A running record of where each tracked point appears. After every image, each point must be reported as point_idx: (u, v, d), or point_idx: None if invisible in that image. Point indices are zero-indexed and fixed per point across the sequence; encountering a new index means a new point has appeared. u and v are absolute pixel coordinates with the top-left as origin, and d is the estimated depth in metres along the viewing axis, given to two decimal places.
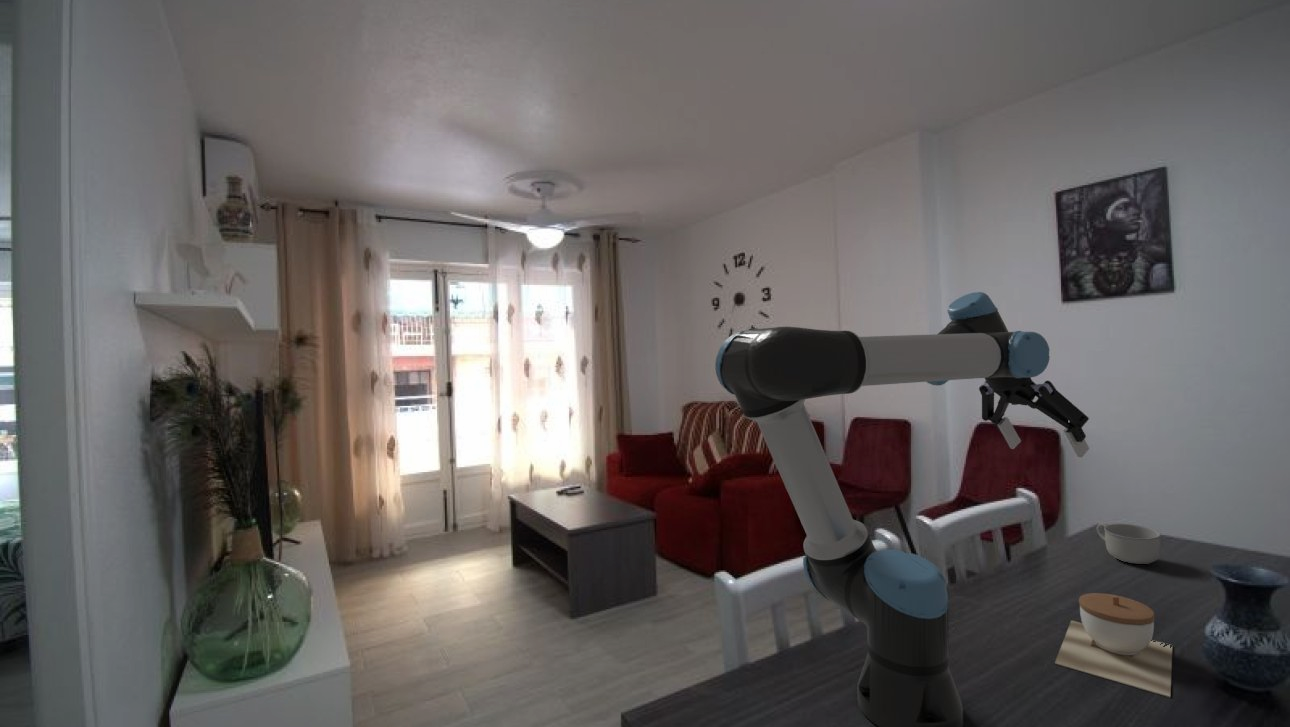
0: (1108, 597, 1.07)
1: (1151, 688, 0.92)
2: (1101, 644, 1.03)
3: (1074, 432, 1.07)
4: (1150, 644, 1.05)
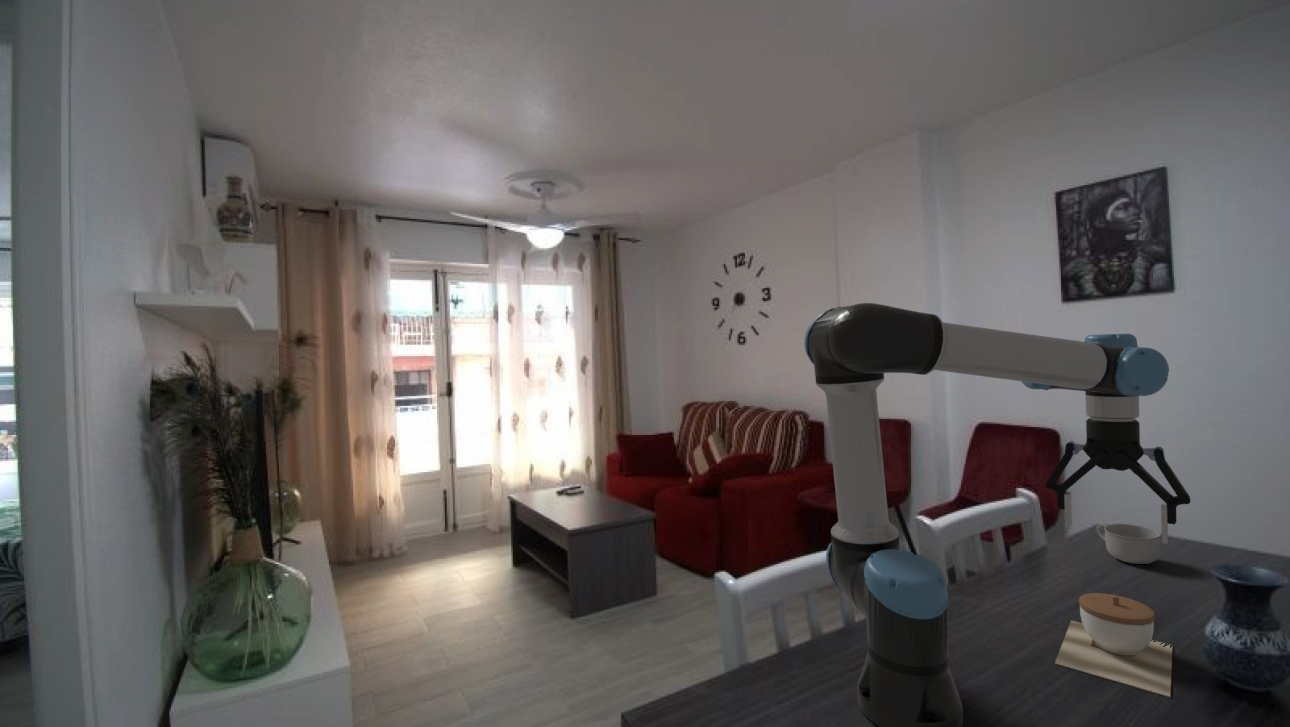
0: (1108, 597, 1.07)
1: (1151, 688, 0.92)
2: (1101, 644, 1.03)
3: (1171, 510, 0.98)
4: (1150, 644, 1.05)
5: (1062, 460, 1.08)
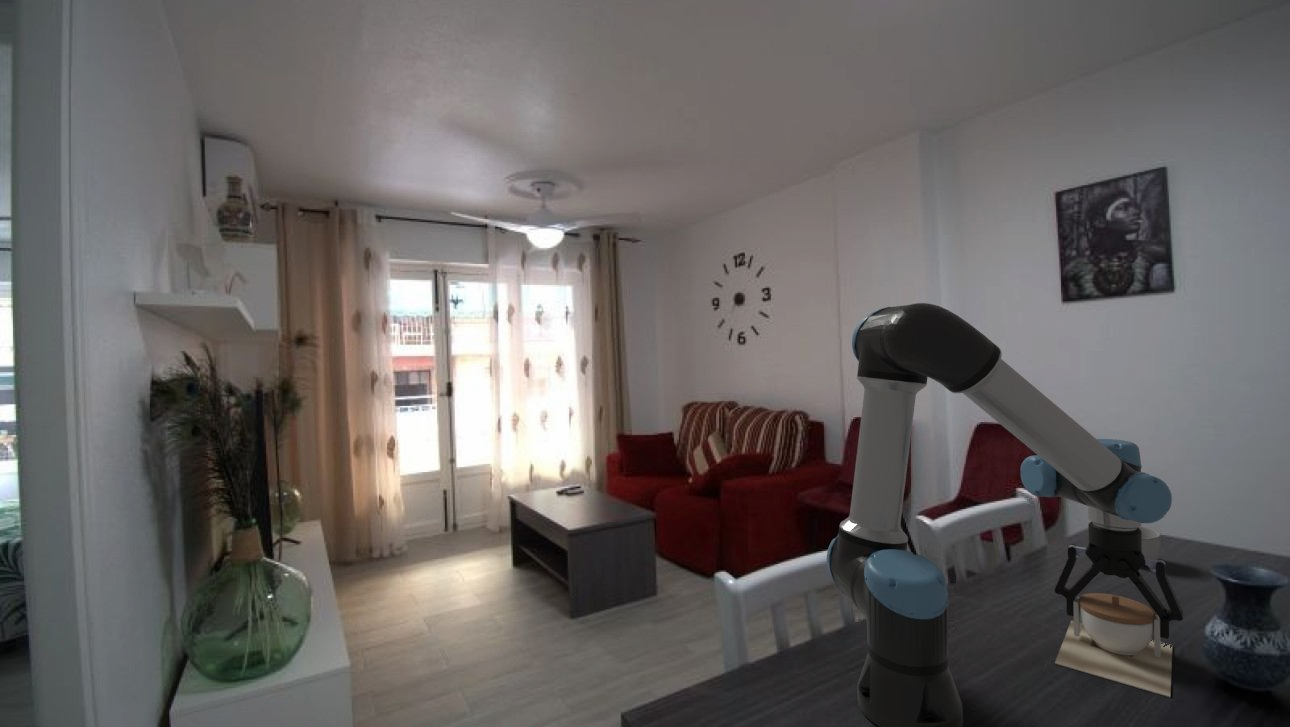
0: (1108, 597, 1.07)
1: (1151, 688, 0.92)
2: (1101, 644, 1.03)
3: (1164, 625, 0.99)
4: (1150, 644, 1.05)
5: (1067, 565, 1.08)
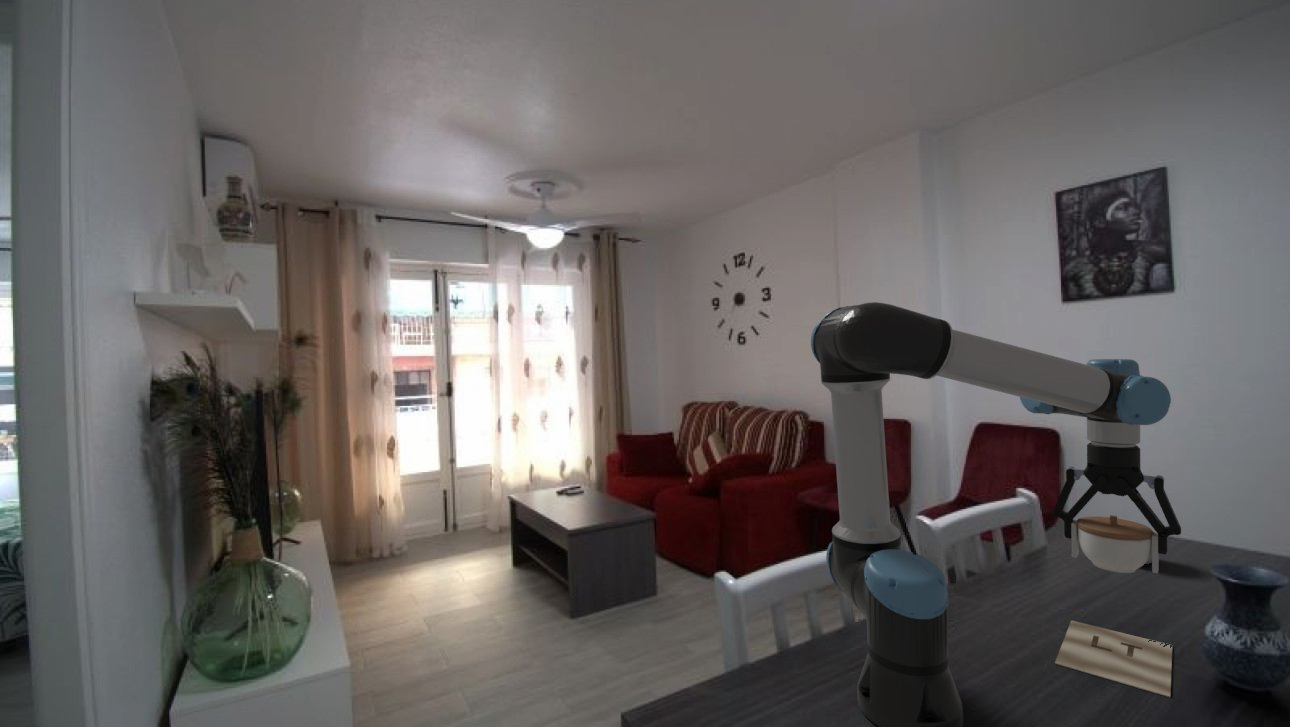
0: (1106, 519, 1.07)
1: (1151, 688, 0.92)
2: (1099, 563, 1.03)
3: (1162, 540, 0.99)
4: (1150, 644, 1.05)
5: (1065, 487, 1.08)
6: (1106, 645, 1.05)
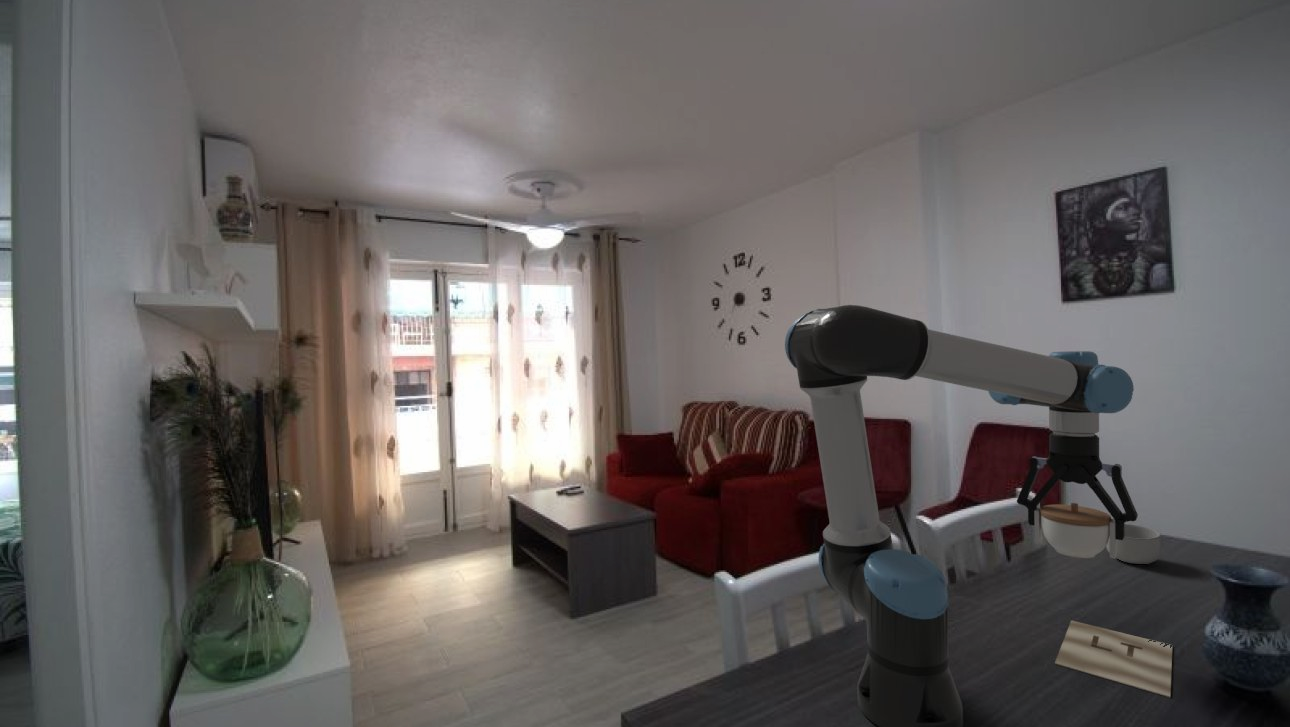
0: (1068, 506, 1.10)
1: (1151, 688, 0.92)
2: (1059, 548, 1.06)
3: (1119, 526, 1.02)
4: (1150, 644, 1.05)
5: (1028, 475, 1.11)
6: (1106, 645, 1.05)
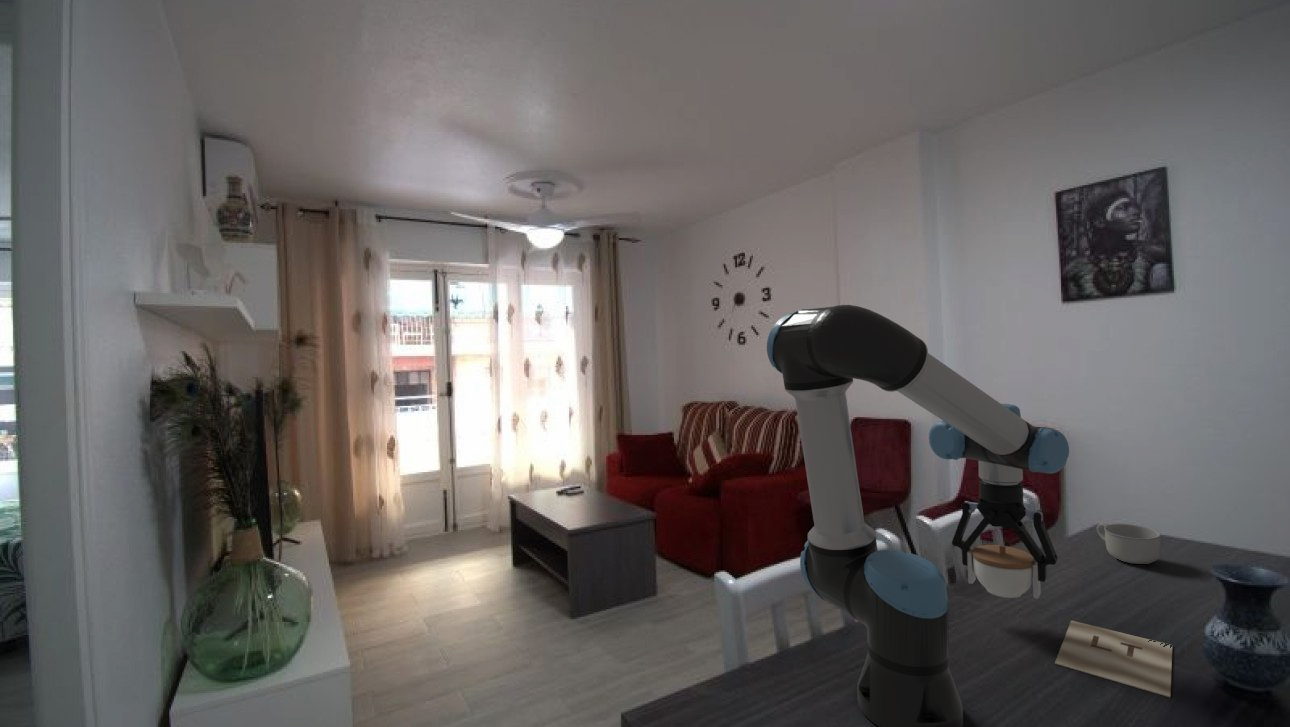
0: (998, 548, 1.18)
1: (1151, 688, 0.92)
2: (988, 589, 1.14)
3: (1041, 569, 1.10)
4: (1150, 644, 1.05)
5: (961, 519, 1.19)
6: (1106, 645, 1.05)
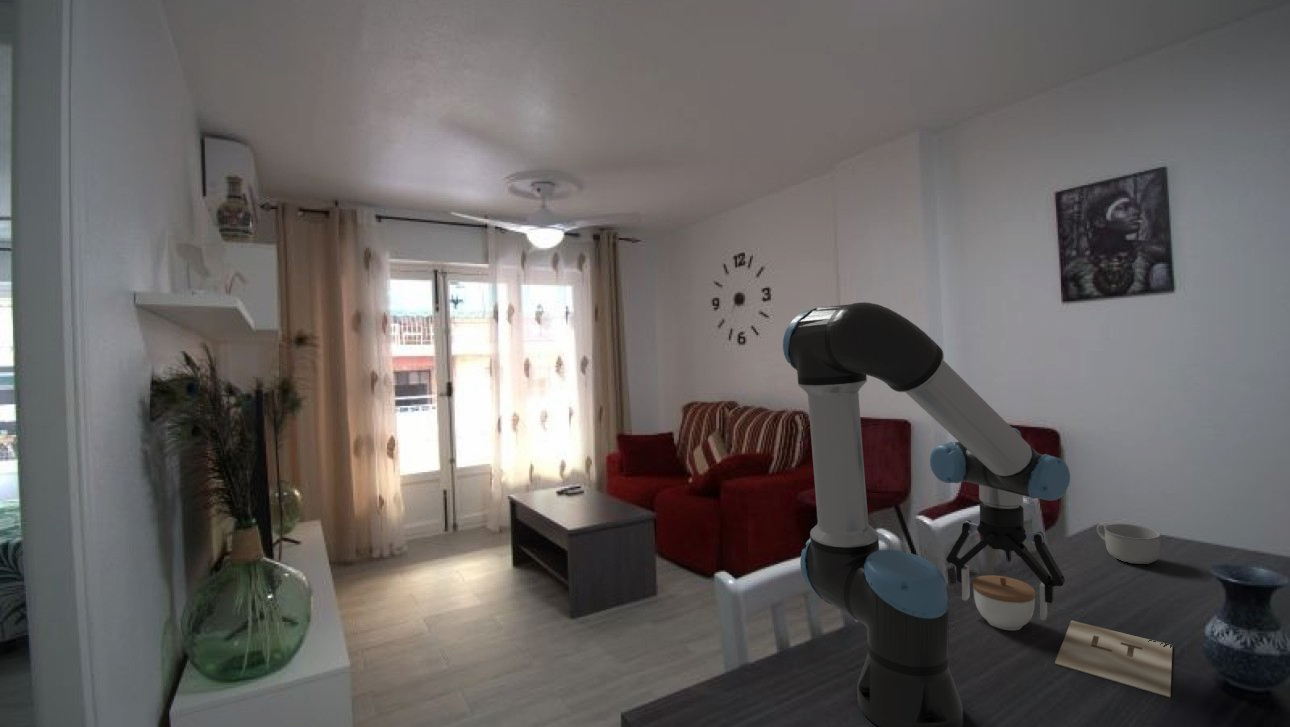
0: (999, 578, 1.18)
1: (1151, 688, 0.92)
2: (989, 620, 1.14)
3: (1048, 590, 1.09)
4: (1150, 644, 1.05)
5: (960, 538, 1.19)
6: (1106, 645, 1.05)
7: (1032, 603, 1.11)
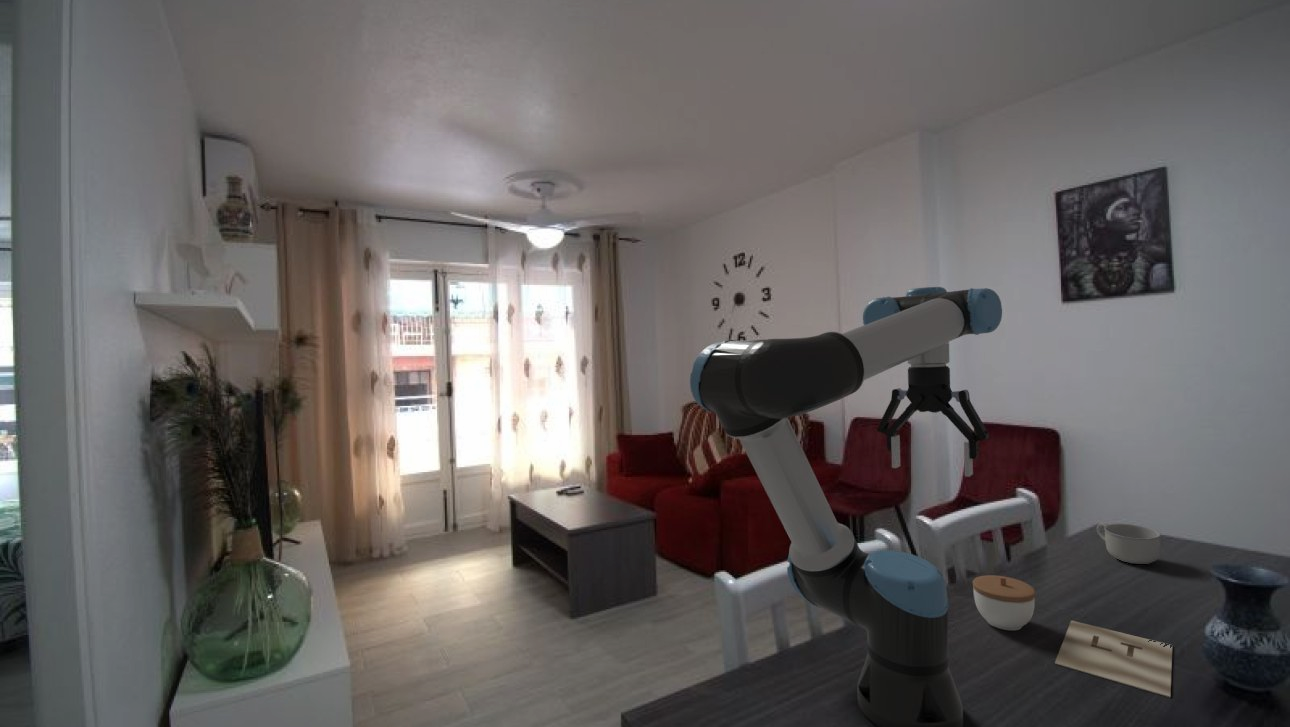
0: (999, 578, 1.18)
1: (1151, 688, 0.92)
2: (989, 620, 1.14)
3: (973, 446, 1.08)
4: (1150, 644, 1.05)
5: (889, 405, 1.18)
6: (1106, 645, 1.05)
7: (1032, 603, 1.11)
